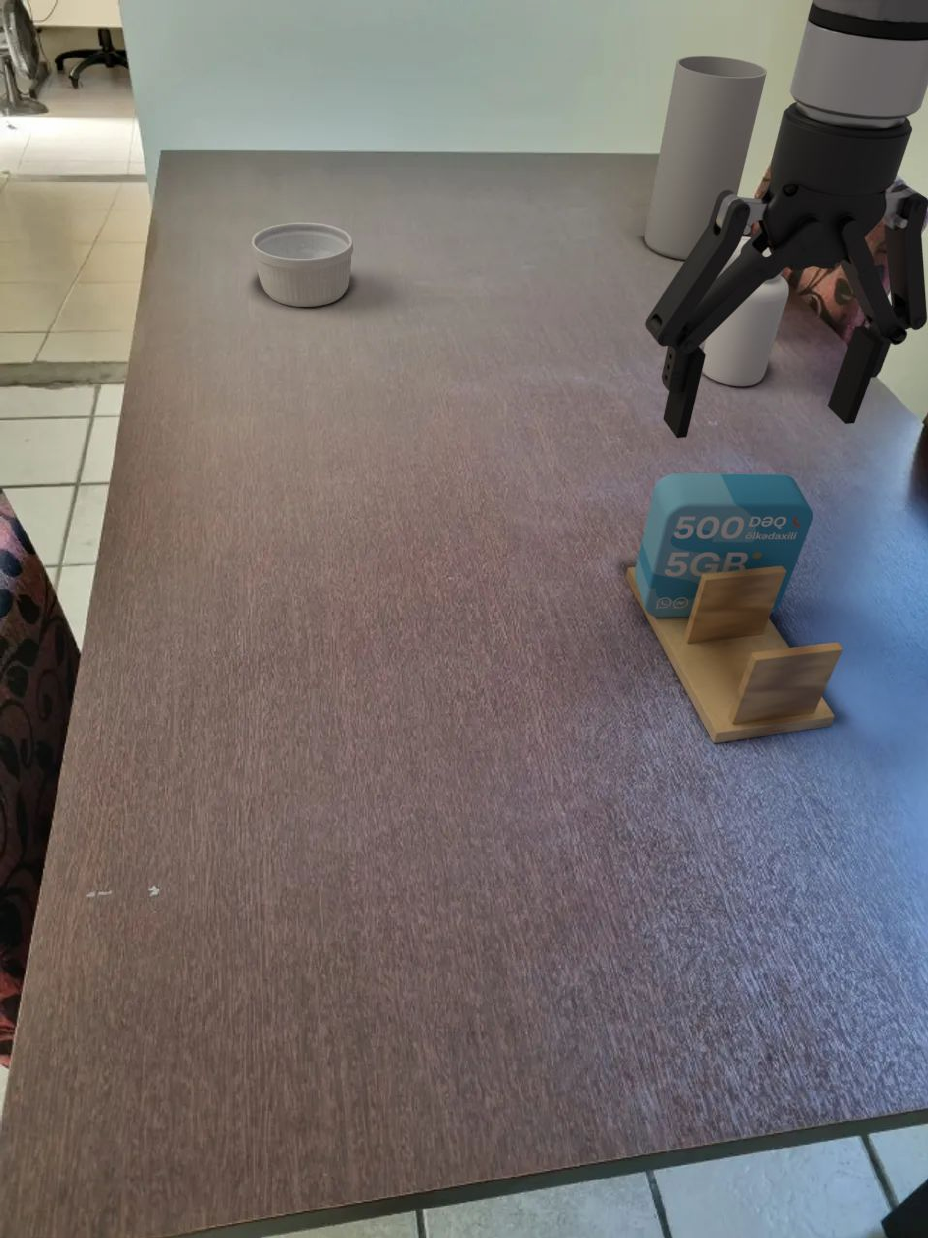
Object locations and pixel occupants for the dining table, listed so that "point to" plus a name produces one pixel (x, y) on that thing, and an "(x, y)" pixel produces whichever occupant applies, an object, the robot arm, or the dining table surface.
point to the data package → (717, 534)
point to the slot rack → (744, 658)
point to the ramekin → (303, 263)
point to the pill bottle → (747, 336)
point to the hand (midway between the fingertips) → (759, 421)
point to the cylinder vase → (701, 147)
